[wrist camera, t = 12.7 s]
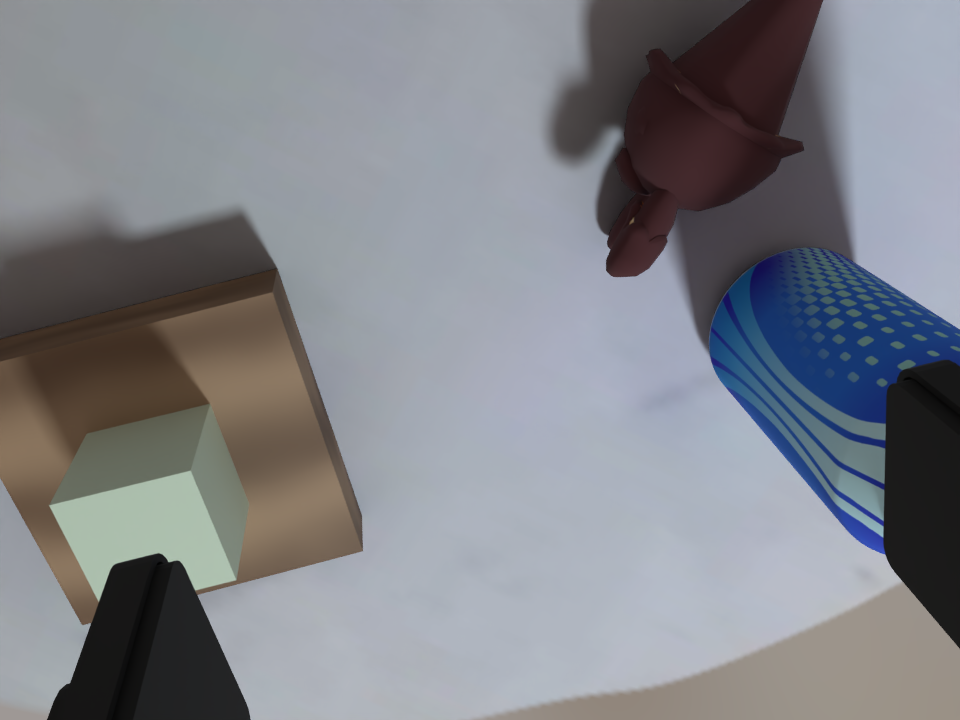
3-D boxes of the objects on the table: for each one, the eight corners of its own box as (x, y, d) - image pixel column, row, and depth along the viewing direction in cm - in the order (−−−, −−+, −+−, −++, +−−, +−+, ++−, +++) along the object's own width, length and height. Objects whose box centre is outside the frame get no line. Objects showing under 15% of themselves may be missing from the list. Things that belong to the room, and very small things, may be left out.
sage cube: (86, 433, 39) (49, 505, 34) (210, 403, 39) (190, 470, 34) (133, 532, 41) (104, 613, 36) (249, 503, 42) (236, 579, 37)
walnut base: (-30, 346, 40) (-57, 375, 37) (277, 268, 40) (272, 292, 37) (97, 584, 46) (82, 625, 43) (361, 515, 46) (362, 551, 44)
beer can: (878, 240, 44) (1139, 388, 29) (838, 393, 47) (1053, 592, 33) (715, 236, 42) (904, 389, 28) (686, 394, 46) (841, 601, 31)
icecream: (772, -128, 30) (535, 238, 36) (948, -6, 31) (688, 333, 36) (742, -107, 36) (545, 201, 42) (888, -6, 37) (675, 283, 43)
